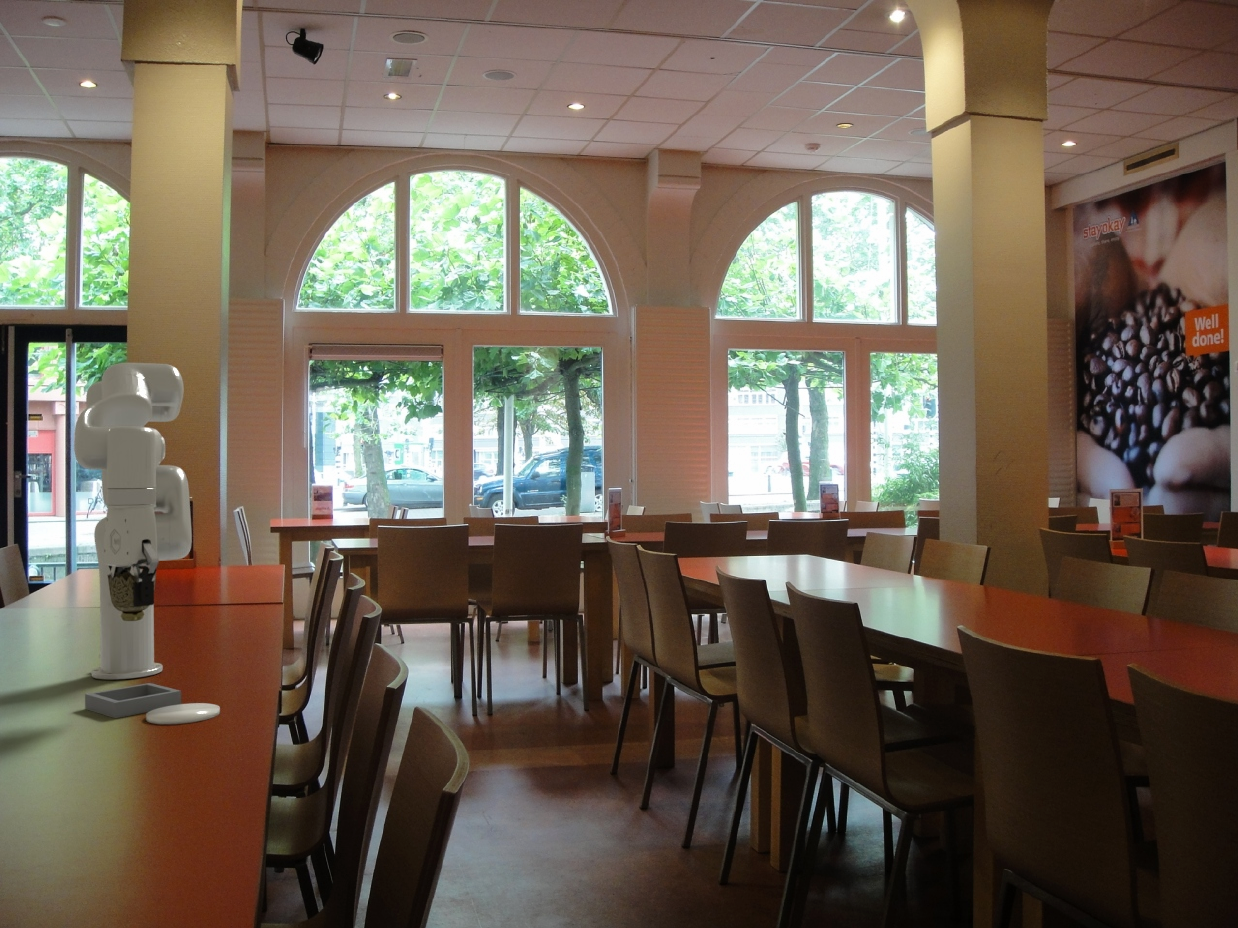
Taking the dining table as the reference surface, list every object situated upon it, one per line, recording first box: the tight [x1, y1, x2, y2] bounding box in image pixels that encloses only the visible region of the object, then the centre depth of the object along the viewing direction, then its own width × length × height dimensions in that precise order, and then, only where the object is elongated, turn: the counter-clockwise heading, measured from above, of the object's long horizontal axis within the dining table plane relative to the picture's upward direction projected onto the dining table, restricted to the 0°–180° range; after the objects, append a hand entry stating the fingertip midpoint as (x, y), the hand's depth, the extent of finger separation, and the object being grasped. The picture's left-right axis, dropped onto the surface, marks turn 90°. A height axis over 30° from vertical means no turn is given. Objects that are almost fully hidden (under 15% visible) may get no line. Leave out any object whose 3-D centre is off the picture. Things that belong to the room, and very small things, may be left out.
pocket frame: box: [84, 682, 182, 719], centre depth 172 cm, size 11×11×2 cm
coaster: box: [145, 702, 221, 725], centre depth 165 cm, size 11×11×1 cm
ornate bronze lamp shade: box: [107, 571, 158, 621], centre depth 172 cm, size 8×7×8 cm
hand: (132, 603), depth 172 cm, fingers closed on ornate bronze lamp shade, 7 cm apart
